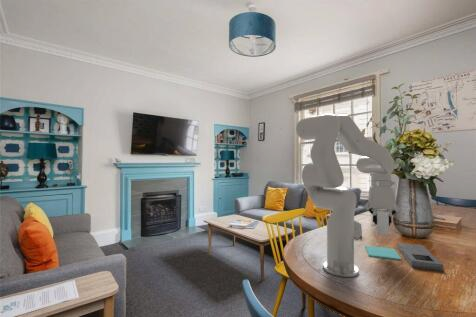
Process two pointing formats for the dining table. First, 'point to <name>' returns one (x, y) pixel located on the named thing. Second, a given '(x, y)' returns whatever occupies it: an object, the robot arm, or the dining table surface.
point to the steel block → (382, 221)
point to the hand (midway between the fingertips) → (382, 223)
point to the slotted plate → (419, 257)
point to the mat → (382, 252)
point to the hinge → (357, 230)
